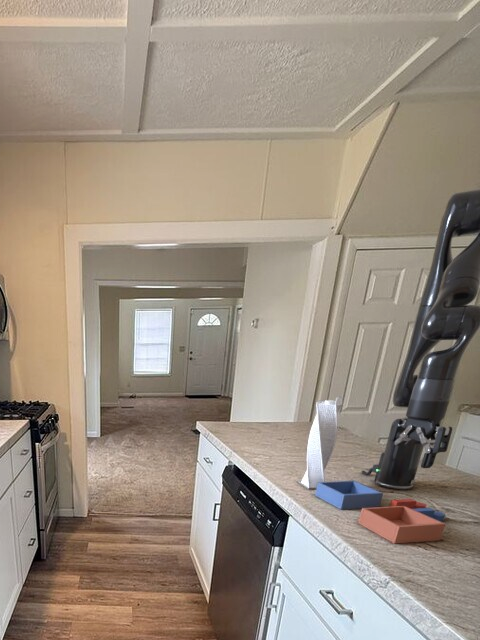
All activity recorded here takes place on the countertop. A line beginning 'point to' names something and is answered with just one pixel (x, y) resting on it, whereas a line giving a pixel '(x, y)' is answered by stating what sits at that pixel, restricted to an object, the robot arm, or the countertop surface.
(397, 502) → the red stepped block
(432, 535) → the terracotta bin
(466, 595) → the countertop surface
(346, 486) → the blue bin
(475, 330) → the robot arm
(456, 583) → the countertop surface
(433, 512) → the blue stepped block
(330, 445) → the skyscraper
